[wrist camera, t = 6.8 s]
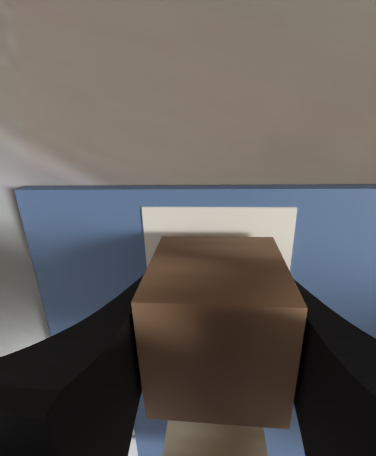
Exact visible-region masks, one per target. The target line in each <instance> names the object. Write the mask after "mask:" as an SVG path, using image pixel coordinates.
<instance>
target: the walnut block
mask: <svg viewBox="0 0 376 456" xmlns="http://www.w3.org/2000/svg"><path fill="white" fill-rule="evenodd" d="M131 306H132V314H133V322H134V330H135V338H136V345H137V353H138V361H139V369H140V377H141V385H142V393H143V400H144V408H145V416H146V419H158V420H171V421H184V422H197V423H211V424H224V425H237V426H250V427H263V428H276V429H290V422H291V416H292V409H293V402H294V396H295V389H296V382H297V376H298V369H299V363H300V356H301V349H302V343H303V336H304V330H305V323H306V316H307V310H308V308H307V306H306V304H305V302H304V300H303V298H302V295H301V293H300V291H299V289H298V287H297V285H296V283H295V281H294V279H293V277H292V275H291V273H290V271H289V269H288V267H287V265H286V262H285V260H284V258H283V256H282V254H281V252H280V250H279V248H278V246H277V244H276V242H275V240H274V238H273V237H209V236H162V237H161V240H160V242H159V244H158V246H157V248H156V250H155V252H154V254H153V257H152V259H151V261H150V263H149V265H148V267H147V269H146V272H145V274H144V276H143V278H142V280H141V282H140V284H139V286H138V289H137V291H136V293H135V295H134V297H133V299H132V301H131Z"/></svg>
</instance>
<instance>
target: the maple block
mask: <svg viewBox="0 0 376 456" xmlns="http://www.w3.org/2000/svg"><path fill="white" fill-rule="evenodd" d="M162 456H268V453H267V447H266V441H265V434H264V428H263V427H250V426H237V425H224V424H211V423H197V422H184V421H171V420H168V423H167V429H166V435H165V442H164V448H163V454H162Z"/></svg>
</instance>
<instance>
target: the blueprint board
mask: <svg viewBox="0 0 376 456" xmlns="http://www.w3.org/2000/svg"><path fill="white" fill-rule="evenodd" d="M14 192H15V196H16V200H17V204H18V207H19V211H20V215H21V219H22V223H23V227H24V231H25V235H26V239H27V243H28V247H29V251H30V255H31V259H32V263H33V267H34V271H35V275H36V279H37V282H38V286H39V290H40V294H41V298H42V302H43V306H44V310H45V314H46V318H47V322H48V326H49V330H50V334H51V336H53V335H55V334H57V333H59V332H61V331H63V330H65V329H67V328H69V327H71V326H73V325H75V324H77V323H78V322H80V321H82V320H83V319H85V318H87V317H88V316H90V315H92V314H93V313H95V312H96V311H98V310H99V309H101V308H102V307H103V306H105V305H106V304H107V303H109V302H110V301H112V300H113V299H114V298H116V297H117V296H118V295H120V294H121V293H122V292H123V291H124V290H126V289H127V288H128V287H129V286H131V285H132V284H133V283H134V282H135V281H137V280H138V279H139V278H140V277H141V276H142V275H144V274H145V272H146V269H147V267H148V265H149V263H150V261H151V259H152V257H153V254H154V252H155V250H156V248H157V246H158V244H159V242H160V240H161V237H162V236H209V237H273V238H274V240H275V242H276V244H277V246H278V248H279V250H280V252H281V254H282V256H283V258H284V260H285V262H286V265H287V267H288V269H289V271H290V273H291V275H292V277H293V279H295V280H296V281H297V282H298V283H299V284H301V285H302V286H303V287H304V288H305V289H307V290H308V291H309V292H310V293H311V294H313V295H314V296H315V297H316V298H318V299H319V300H320V301H321V302H323V303H324V304H325V305H326V306H328V307H329V308H330V309H332V310H333V311H334V312H336V313H337V314H339V315H340V316H341V317H343V318H344V319H346V320H347V321H348V322H350V323H351V324H353V325H355V326H356V327H358V328H359V329H361V330H362V331H364V332H366V333H367V334H369V335H371V336H372V337H374V338H376V184H348V185H142V186H24V187H21V188H18V189H15V190H14ZM167 423H168V420H158V419H146V416H145V408H144V400H143V393H141V397H140V401H139V406H138V410H137V415H136V419H135V424H134V429H133V433H132V438H131V443H130V448H129V453H128V456H162V454H163V448H164V442H165V435H166V429H167ZM264 434H265V441H266V447H267V453H268V456H305V452H304V447H303V442H302V437H301V433H300V428H299V424H298V419H297V414H296V410H295V406H294V403H293V409H292V416H291V422H290V429H276V428H264Z"/></svg>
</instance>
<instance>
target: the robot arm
mask: <svg viewBox="0 0 376 456" xmlns="http://www.w3.org/2000/svg"><path fill="white" fill-rule="evenodd" d="M143 276H144V275H142V276H141V277H140V278H139V279H138V280H137V281H135V282H134V283H133V284H132V285H131V286H129V287H128V288H127V289H126V290H124V291H123V292H122V293H121V294H120V295H118V296H117V297H116V298H114V299H113V300H112V301H110V302H109V303H107V304H106V305H105V306H103V307H102V308H101V309H99V310H98V311H96V312H95V313H93V314H92V315H90V316H88V317H87V318H85V319H83V320H82V321H80V322H78V323H77V324H75V325H73V326H71V327H69V328H67V329H65V330H63V331H61V332H59V333H57V334H55V335H53V336H51V337H49V338H47V339H45V340H43V341H40V342H38V343H36V344H34V345H31V346H29V347H26V348H24V349H21V350H19V351H16V352H14V353H11V354H8V355H6V356H3V357H0V456H128V453H129V448H130V443H131V438H132V433H133V429H134V424H135V419H136V415H137V410H138V406H139V401H140V397H141V393H142V385H141V377H140V369H139V361H138V353H137V345H136V338H135V330H134V322H133V314H132V306H131V301H132V299H133V297H134V295H135V293H136V291H137V289H138V286H139V284H140V282H141V280H142V278H143ZM294 281H295V283H296V285H297V287H298V289H299V291H300V293H301V295H302V298H303V300H304V302H305V304H306V306H307V308H308V310H307V316H306V323H305V330H304V336H303V343H302V349H301V356H300V363H299V369H298V376H297V382H296V389H295V396H294V402H293V403H294V406H295V410H296V414H297V419H298V424H299V428H300V433H301V437H302V442H303V447H304V452H305V456H376V338H374V337H372V336H371V335H369V334H367V333H366V332H364V331H362V330H361V329H359V328H358V327H356V326H355V325H353V324H351V323H350V322H348V321H347V320H346V319H344V318H343V317H341V316H340V315H339V314H337V313H336V312H334V311H333V310H332V309H330V308H329V307H328V306H326V305H325V304H324V303H323V302H321V301H320V300H319V299H318V298H316V297H315V296H314V295H313V294H311V293H310V292H309V291H308V290H307V289H305V288H304V287H303V286H302V285H301V284H299V283H298V282H297V281H296V280H295V279H294Z"/></svg>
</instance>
